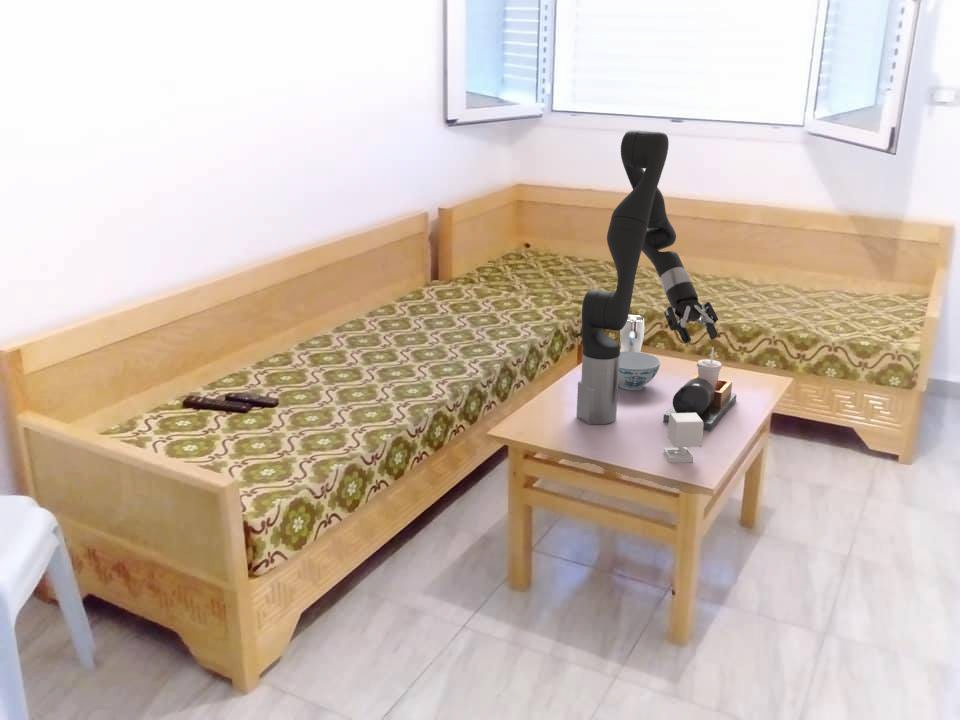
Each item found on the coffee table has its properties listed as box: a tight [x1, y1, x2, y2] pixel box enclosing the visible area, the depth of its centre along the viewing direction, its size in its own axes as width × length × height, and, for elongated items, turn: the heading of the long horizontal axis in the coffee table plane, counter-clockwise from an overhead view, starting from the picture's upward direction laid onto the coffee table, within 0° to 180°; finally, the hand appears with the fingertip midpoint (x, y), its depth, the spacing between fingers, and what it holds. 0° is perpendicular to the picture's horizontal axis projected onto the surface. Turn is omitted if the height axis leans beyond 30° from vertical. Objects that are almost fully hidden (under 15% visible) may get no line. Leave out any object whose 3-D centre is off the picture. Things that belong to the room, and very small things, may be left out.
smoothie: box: [696, 347, 723, 390], centre depth 236 cm, size 6×6×14 cm
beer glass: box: [619, 314, 645, 352], centre depth 265 cm, size 7×7×15 cm
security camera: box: [663, 413, 704, 464], centre depth 206 cm, size 6×7×10 cm
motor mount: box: [663, 374, 737, 432], centre depth 233 cm, size 24×12×10 cm, turn 150°
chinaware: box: [618, 351, 661, 391], centre depth 251 cm, size 15×15×8 cm
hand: (701, 340), depth 237 cm, fingers open, 8 cm apart
